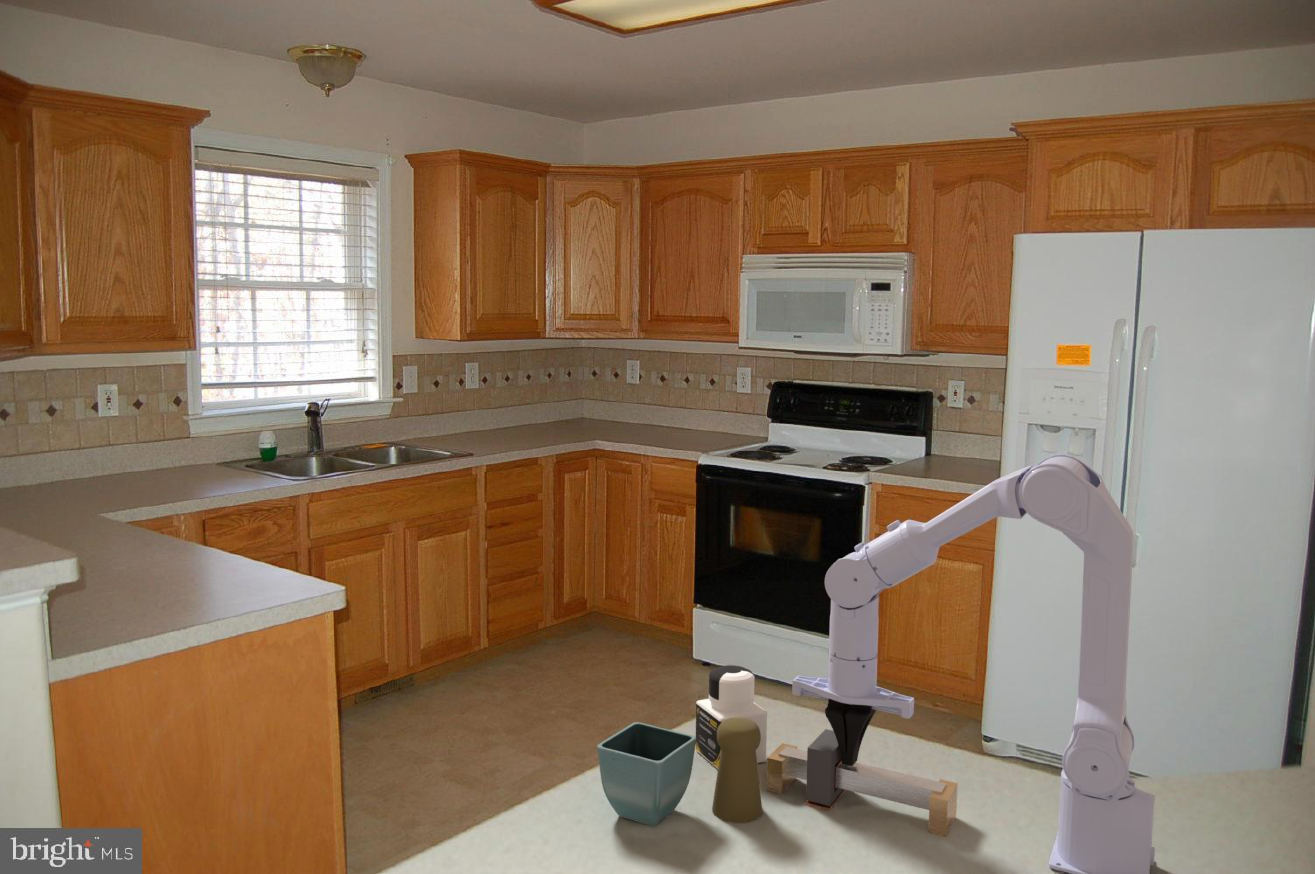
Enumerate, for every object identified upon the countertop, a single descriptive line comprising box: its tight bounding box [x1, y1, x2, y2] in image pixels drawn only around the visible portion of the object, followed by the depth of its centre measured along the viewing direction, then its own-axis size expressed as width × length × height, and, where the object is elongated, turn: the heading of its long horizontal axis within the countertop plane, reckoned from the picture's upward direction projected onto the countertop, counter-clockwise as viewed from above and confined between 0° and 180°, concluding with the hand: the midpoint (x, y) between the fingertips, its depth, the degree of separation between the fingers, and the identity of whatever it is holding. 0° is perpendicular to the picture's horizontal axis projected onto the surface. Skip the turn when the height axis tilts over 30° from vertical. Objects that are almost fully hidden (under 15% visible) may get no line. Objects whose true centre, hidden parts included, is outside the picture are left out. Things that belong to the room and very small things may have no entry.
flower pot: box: [596, 721, 696, 827], centre depth 115 cm, size 9×9×9 cm
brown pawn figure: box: [711, 717, 764, 824], centre depth 116 cm, size 6×6×11 cm
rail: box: [766, 742, 958, 837], centre depth 118 cm, size 22×7×4 cm, turn 61°
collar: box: [805, 728, 843, 806], centre depth 120 cm, size 3×6×7 cm, turn 151°
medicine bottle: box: [695, 664, 768, 770], centre depth 130 cm, size 7×7×12 cm
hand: (849, 761), depth 118 cm, fingers closed
